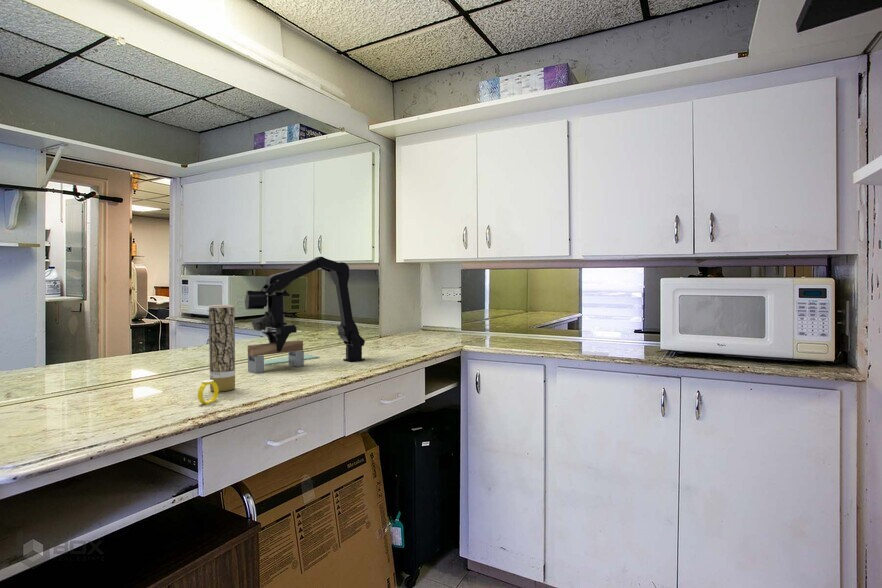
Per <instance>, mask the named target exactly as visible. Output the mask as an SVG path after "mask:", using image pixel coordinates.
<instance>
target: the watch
mask: <svg viewBox="0 0 882 588" xmlns="http://www.w3.org/2000/svg"><path fill="white" fill-rule="evenodd" d="M201 383H202V384H201V385H200V386H199V387H198V390H197V398H198V402H199V403H201V404H202V405H208V403H209V404H210V402H211V403H214V402H215V401H216V400H217V398H218V396H219V390H218V386H217V384H216V383H215V382H214V380H210V379H205V380H204V379H203V380H202V381H201ZM210 384H212V385H213V387H214V391H213V394H212V396H211V398H210V399H209V400H207V401H205V399H204V397H203V396H204V390H205V388H206V387H207V386H208V385H210ZM213 401H214V402H213Z"/></svg>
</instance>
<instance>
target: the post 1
mask: <svg viewBox="0 0 882 588" xmlns="http://www.w3.org/2000/svg"><path fill="white" fill-rule="evenodd" d="M264 360H265V355H260V356H253V357H252V356H248V355H247V372H250V373H252V374H259V373H260V374H261V372H262V373H265V366H264Z"/></svg>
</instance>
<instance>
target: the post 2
mask: <svg viewBox="0 0 882 588" xmlns="http://www.w3.org/2000/svg"><path fill="white" fill-rule="evenodd" d="M287 353H288V356H287V357H288V358H289V362H288V366H290V365H291V366H290V367H294V366H296V367H295V368H299V367H298V366H301V367H305V360H304V355H305V351H304V350H300V351H292V352H287Z"/></svg>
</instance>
